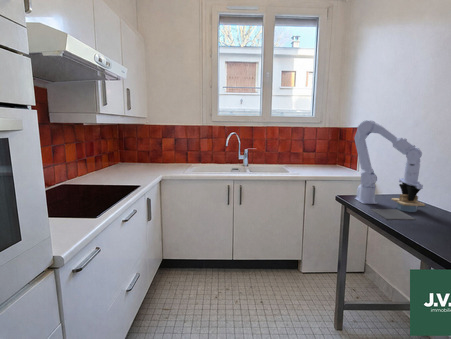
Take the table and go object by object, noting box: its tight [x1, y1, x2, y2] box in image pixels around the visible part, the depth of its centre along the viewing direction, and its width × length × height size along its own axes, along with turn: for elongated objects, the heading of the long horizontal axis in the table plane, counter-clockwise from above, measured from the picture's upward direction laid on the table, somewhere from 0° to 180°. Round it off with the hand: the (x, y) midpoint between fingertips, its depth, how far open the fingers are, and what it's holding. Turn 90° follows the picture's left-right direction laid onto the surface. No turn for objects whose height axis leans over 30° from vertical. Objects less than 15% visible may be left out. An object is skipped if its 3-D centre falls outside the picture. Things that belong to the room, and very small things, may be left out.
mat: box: [370, 208, 417, 221], centre depth 125 cm, size 13×13×1 cm
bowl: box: [396, 202, 418, 213], centre depth 132 cm, size 8×8×4 cm
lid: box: [391, 193, 426, 207], centre depth 131 cm, size 10×10×4 cm
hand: (407, 199), depth 132 cm, fingers open, 4 cm apart
